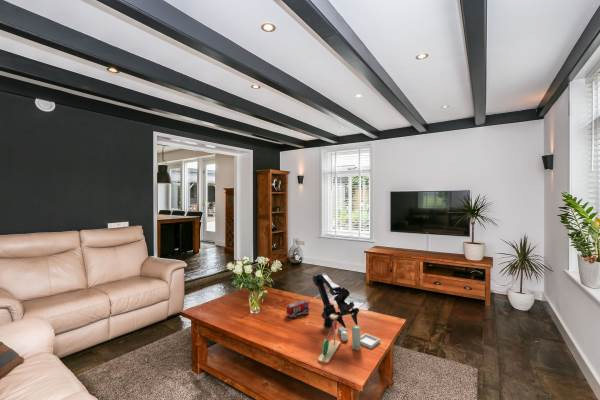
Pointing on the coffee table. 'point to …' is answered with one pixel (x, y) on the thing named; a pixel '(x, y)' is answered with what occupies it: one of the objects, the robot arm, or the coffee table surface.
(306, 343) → the coffee table surface
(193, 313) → the coffee table surface
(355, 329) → the pale green cylinder
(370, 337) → the white tray
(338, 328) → the grey block
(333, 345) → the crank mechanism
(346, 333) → the white rounded cylinder
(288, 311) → the toy fire truck
